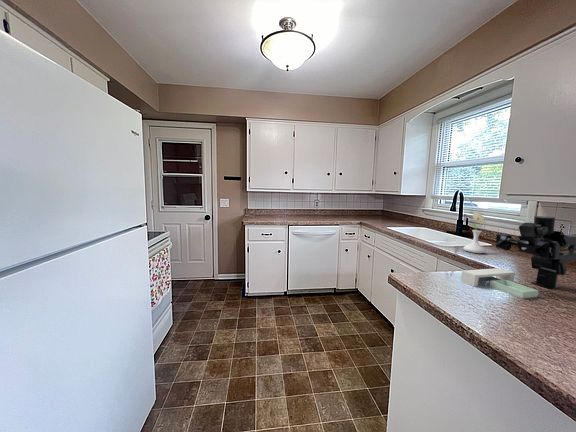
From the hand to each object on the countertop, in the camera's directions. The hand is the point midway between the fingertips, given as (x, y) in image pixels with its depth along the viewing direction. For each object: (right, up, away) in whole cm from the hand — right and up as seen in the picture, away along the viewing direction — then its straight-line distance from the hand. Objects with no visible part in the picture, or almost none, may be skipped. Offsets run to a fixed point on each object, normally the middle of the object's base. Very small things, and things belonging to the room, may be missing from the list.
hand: (509, 248), depth 92 cm
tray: (+3, -17, +2) cm, 17 cm away
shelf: (0, -16, +11) cm, 19 cm away
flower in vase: (+35, -11, +65) cm, 74 cm away
